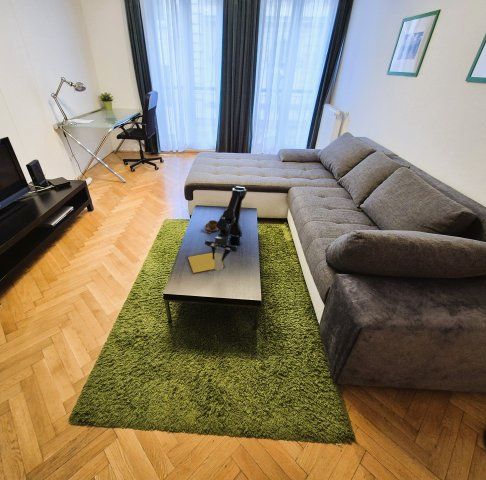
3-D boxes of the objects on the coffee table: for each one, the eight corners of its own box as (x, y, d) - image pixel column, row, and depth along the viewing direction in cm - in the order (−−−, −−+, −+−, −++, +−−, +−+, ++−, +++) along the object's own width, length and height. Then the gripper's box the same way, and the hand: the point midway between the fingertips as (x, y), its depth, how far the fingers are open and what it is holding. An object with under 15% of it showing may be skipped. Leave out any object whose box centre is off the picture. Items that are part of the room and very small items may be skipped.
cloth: (216, 252, 173) (216, 251, 173) (223, 267, 161) (223, 266, 161) (187, 257, 168) (187, 257, 168) (193, 273, 156) (193, 272, 155)
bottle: (221, 264, 157) (221, 247, 150) (223, 269, 153) (224, 252, 146) (213, 266, 156) (213, 248, 149) (215, 271, 152) (215, 254, 145)
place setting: (212, 221, 208) (212, 214, 204) (234, 228, 199) (235, 221, 196) (199, 230, 195) (199, 224, 192) (223, 238, 187) (223, 231, 184)
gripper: (205, 227, 147) (198, 254, 144) (237, 234, 142) (230, 262, 140) (210, 232, 158) (204, 257, 155) (240, 238, 153) (234, 264, 150)
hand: (217, 260), depth 150 cm, fingers closed on bottle, 5 cm apart
